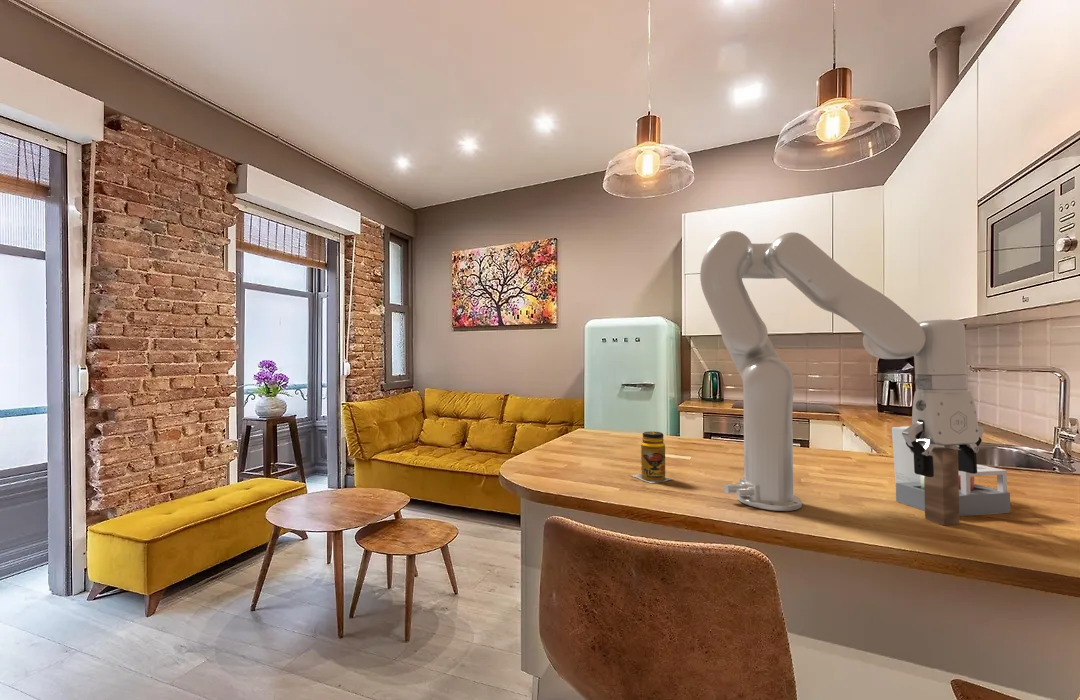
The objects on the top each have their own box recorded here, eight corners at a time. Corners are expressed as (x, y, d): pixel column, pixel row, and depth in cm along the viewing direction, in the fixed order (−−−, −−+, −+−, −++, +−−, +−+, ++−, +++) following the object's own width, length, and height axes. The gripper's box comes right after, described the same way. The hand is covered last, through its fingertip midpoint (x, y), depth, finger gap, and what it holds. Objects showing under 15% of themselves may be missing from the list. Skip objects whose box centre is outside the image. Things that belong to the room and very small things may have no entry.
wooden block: (943, 525, 84) (942, 450, 84) (924, 519, 87) (923, 446, 88) (959, 524, 85) (958, 450, 85) (940, 518, 88) (938, 446, 88)
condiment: (651, 483, 112) (651, 435, 112) (630, 476, 120) (629, 430, 120) (673, 480, 116) (673, 433, 116) (651, 472, 123) (650, 428, 123)
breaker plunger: (964, 493, 93) (964, 477, 93) (946, 488, 97) (946, 473, 97) (979, 492, 94) (979, 477, 94) (960, 487, 97) (960, 472, 97)
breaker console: (944, 517, 88) (943, 474, 89) (896, 501, 98) (895, 462, 98) (1010, 512, 91) (1009, 471, 91) (957, 497, 101) (956, 460, 101)
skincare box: (948, 495, 103) (947, 430, 103) (925, 496, 102) (924, 430, 102) (913, 485, 111) (912, 424, 111) (891, 486, 110) (890, 425, 110)
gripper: (922, 386, 81) (927, 481, 81) (1000, 383, 84) (1005, 475, 84) (884, 384, 89) (888, 472, 88) (957, 381, 92) (961, 466, 91)
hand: (945, 473), depth 86 cm, fingers open, 9 cm apart
